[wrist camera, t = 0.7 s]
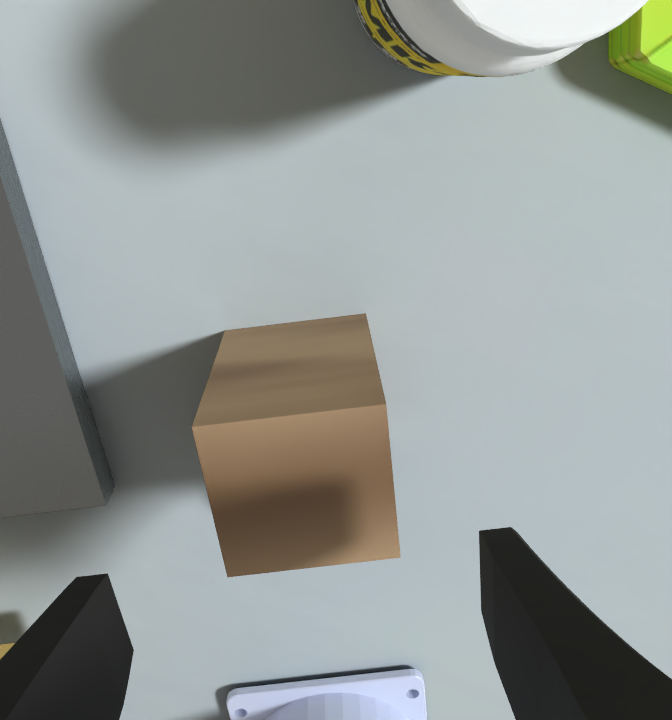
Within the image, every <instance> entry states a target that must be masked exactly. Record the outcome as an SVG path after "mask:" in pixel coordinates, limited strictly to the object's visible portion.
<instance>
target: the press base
mask: <svg viewBox="0 0 672 720" xmlns="http://www.w3.org/2000/svg"><path fill="white" fill-rule="evenodd" d="M113 490H114V484H113V481H112V478H111V475H110V471H109V468H108V465H107V462H106V458H105V455H104V452H103V449H102V446H101V442H100V439H99V436H98V433H97V429H96V426H95V423H94V420H93V417H92V413H91V410H90V407H89V404H88V400H87V397H86V394H85V391H84V387H83V384H82V381H81V378H80V375H79V371H78V368H77V365H76V362H75V358H74V355H73V352H72V349H71V346H70V342H69V339H68V336H67V333H66V329H65V326H64V323H63V320H62V316H61V313H60V310H59V307H58V304H57V300H56V297H55V294H54V291H53V287H52V284H51V281H50V278H49V274H48V271H47V268H46V265H45V262H44V258H43V255H42V252H41V249H40V245H39V242H38V239H37V236H36V233H35V229H34V226H33V223H32V220H31V216H30V213H29V210H28V207H27V203H26V200H25V197H24V194H23V191H22V187H21V184H20V181H19V178H18V174H17V171H16V168H15V165H14V162H13V158H12V155H11V152H10V149H9V145H8V142H7V139H6V136H5V132H4V129H3V126H2V123H1V120H0V518H2V517H10V516H19V515H27V514H36V513H45V512H53V511H62V510H70V509H79V508H87V507H96V506H105V505H106V504H107V502H108V500H109V498H110V496H111V494H112V492H113Z"/></svg>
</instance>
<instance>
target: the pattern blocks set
mask: <svg viewBox="0 0 672 720" xmlns="http://www.w3.org/2000/svg"><path fill="white" fill-rule="evenodd" d="M608 58H609V63H610V64H611V65H612V66H613V67H614V68H615V69H618V70H620V71H622V72H624V73H626V74H629V75H631V76H633V77H635V78H637V79H639V80H642V81H644V82H646V83H648V84H650V85H652V86H655V87H657V88H659V89H661V90H663V91H665V92H668V93H670V94H672V0H648V1H647V2H646V4H645V5H643V6H642V7H641V8H640V9H639V10H638V11H637V12H635V13H634V14H633V15H632V16H631V17H629V18H628V19H627V20H626V21H624V22H623V23H622V24H620V25H619V26H617V27H616V28H614V29H612V30H611V31H609V46H608Z"/></svg>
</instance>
